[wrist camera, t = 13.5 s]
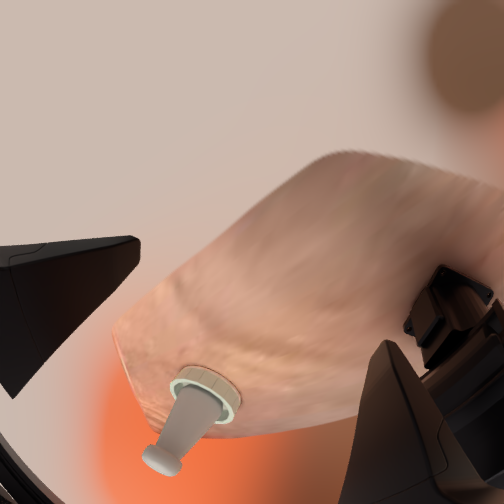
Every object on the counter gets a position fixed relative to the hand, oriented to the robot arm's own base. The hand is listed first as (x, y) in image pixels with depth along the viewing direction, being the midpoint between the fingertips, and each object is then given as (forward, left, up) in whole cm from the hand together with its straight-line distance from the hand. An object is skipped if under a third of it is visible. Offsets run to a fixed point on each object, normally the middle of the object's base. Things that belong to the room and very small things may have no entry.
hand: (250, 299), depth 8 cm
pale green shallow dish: (+4, +26, -12) cm, 28 cm away
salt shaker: (+4, +25, -12) cm, 28 cm away
